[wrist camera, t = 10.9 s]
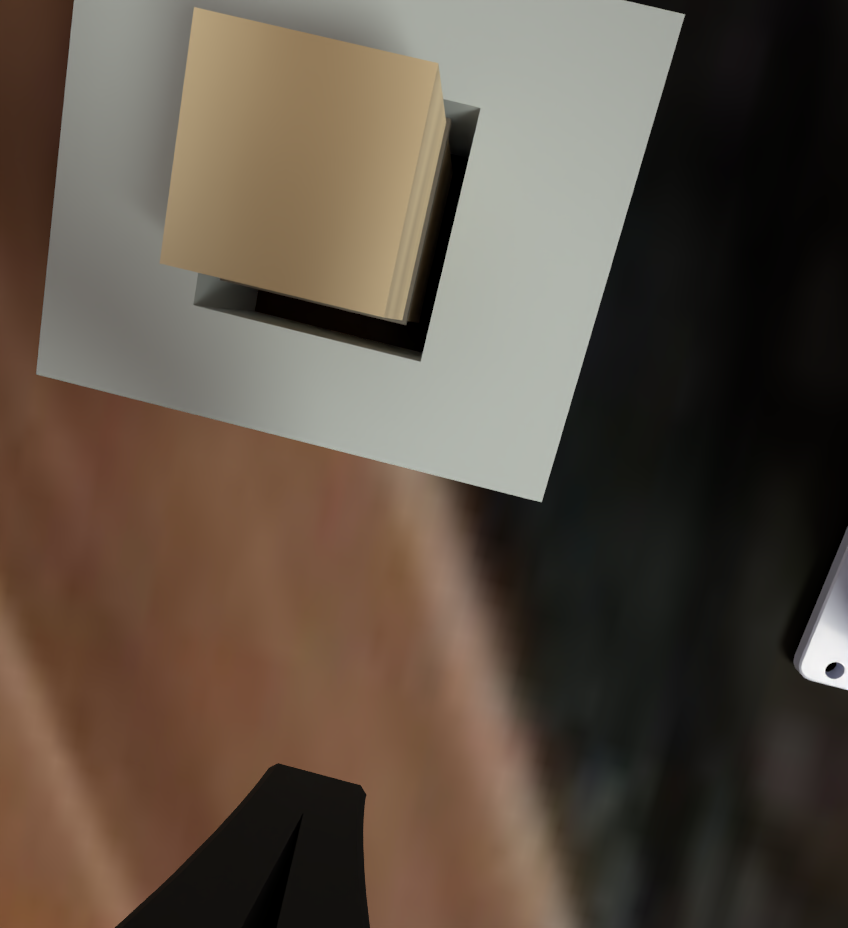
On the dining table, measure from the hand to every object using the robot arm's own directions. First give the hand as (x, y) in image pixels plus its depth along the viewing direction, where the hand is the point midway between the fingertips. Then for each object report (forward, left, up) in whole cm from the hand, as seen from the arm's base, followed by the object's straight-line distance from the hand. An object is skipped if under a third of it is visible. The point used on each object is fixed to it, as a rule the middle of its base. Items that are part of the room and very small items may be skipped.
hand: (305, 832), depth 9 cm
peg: (+3, -9, -10) cm, 14 cm away
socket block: (+3, -9, -10) cm, 14 cm away
